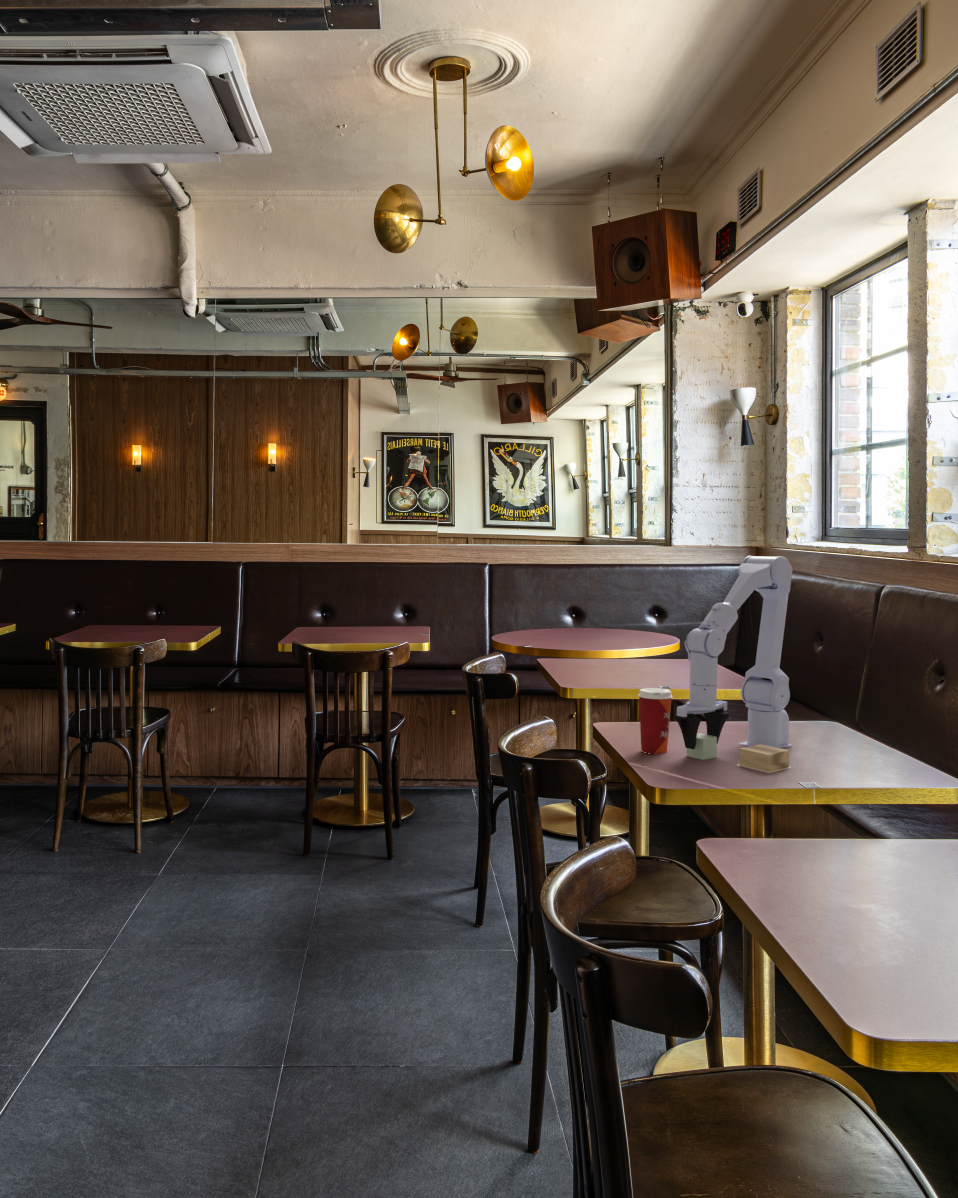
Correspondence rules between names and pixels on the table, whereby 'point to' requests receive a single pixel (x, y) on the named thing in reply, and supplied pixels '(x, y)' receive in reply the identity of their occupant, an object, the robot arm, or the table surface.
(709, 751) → the sage block
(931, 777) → the table surface
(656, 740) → the paper cup
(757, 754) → the oak base
